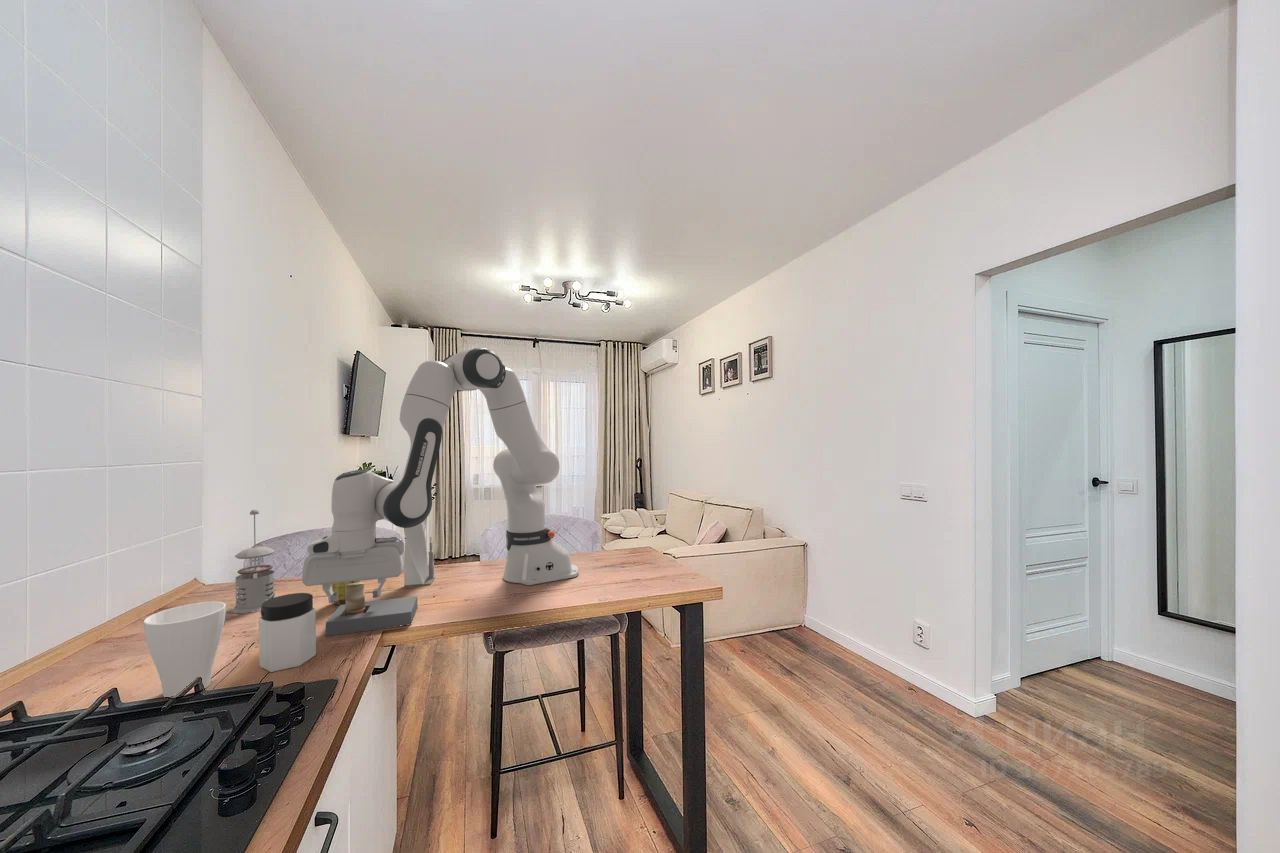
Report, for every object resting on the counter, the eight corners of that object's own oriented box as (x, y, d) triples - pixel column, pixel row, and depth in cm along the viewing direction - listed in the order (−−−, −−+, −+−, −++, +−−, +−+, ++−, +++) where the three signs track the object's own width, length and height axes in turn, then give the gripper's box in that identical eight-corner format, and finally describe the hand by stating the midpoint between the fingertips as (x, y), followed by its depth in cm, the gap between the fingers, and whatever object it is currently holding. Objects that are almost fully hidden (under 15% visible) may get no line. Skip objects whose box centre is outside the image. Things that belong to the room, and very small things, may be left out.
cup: (136, 714, 76) (135, 630, 76) (152, 686, 85) (151, 610, 85) (223, 692, 82) (222, 614, 82) (230, 668, 91) (229, 597, 91)
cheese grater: (429, 586, 136) (428, 488, 137) (398, 589, 135) (397, 490, 135) (435, 577, 145) (433, 485, 145) (406, 580, 143) (404, 486, 143)
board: (417, 607, 120) (417, 596, 120) (411, 624, 110) (411, 611, 110) (340, 617, 115) (340, 605, 115) (325, 636, 104) (325, 622, 104)
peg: (366, 619, 113) (366, 581, 113) (363, 625, 110) (362, 586, 110) (348, 621, 112) (347, 583, 112) (343, 628, 108) (342, 588, 108)
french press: (230, 616, 116) (228, 514, 116) (231, 603, 125) (230, 508, 125) (280, 606, 123) (279, 509, 123) (278, 595, 132) (277, 504, 132)
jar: (284, 650, 98) (283, 592, 98) (324, 650, 98) (323, 591, 98) (248, 673, 89) (247, 608, 89) (292, 672, 89) (291, 608, 89)
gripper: (405, 533, 117) (406, 589, 117) (308, 541, 111) (309, 600, 111) (401, 539, 111) (402, 598, 111) (298, 547, 105) (299, 610, 105)
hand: (355, 599), depth 111 cm, fingers open, 8 cm apart
